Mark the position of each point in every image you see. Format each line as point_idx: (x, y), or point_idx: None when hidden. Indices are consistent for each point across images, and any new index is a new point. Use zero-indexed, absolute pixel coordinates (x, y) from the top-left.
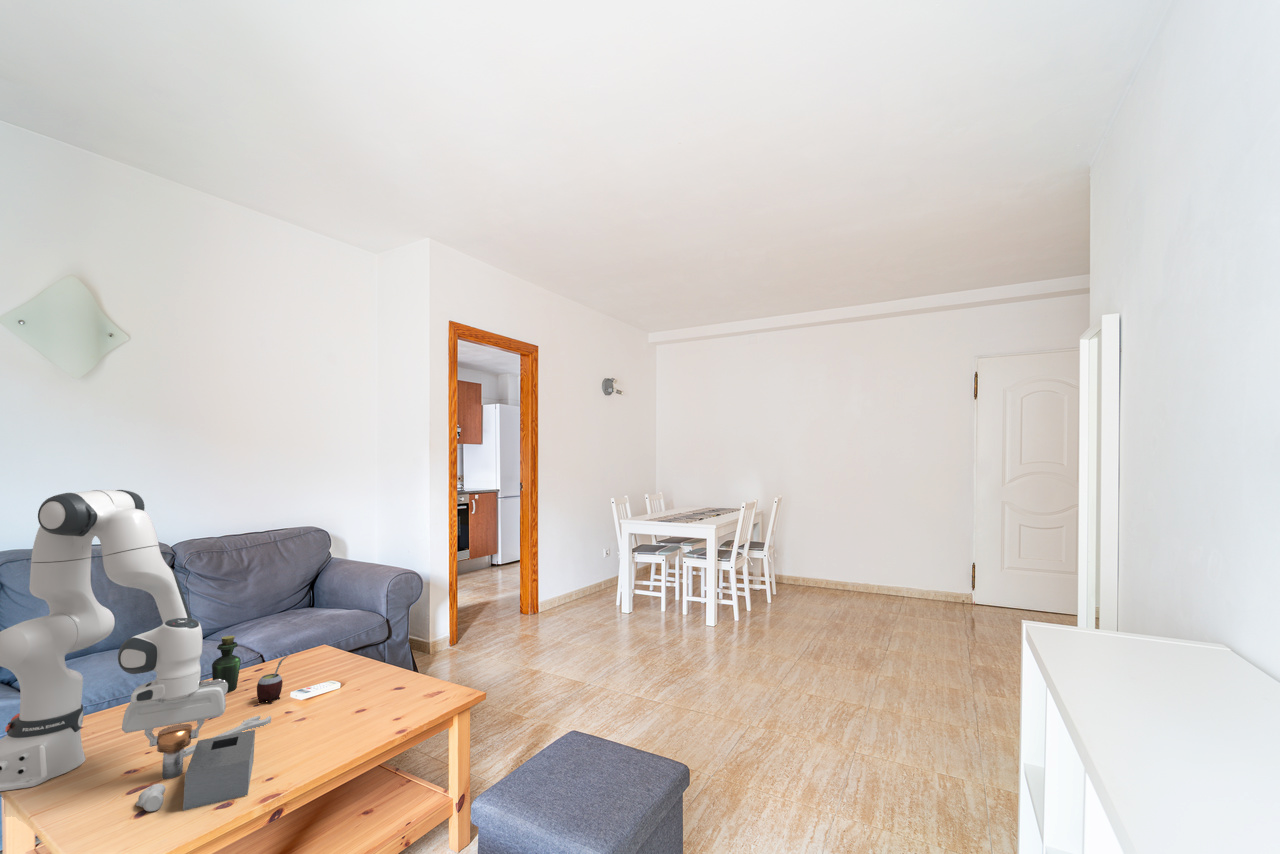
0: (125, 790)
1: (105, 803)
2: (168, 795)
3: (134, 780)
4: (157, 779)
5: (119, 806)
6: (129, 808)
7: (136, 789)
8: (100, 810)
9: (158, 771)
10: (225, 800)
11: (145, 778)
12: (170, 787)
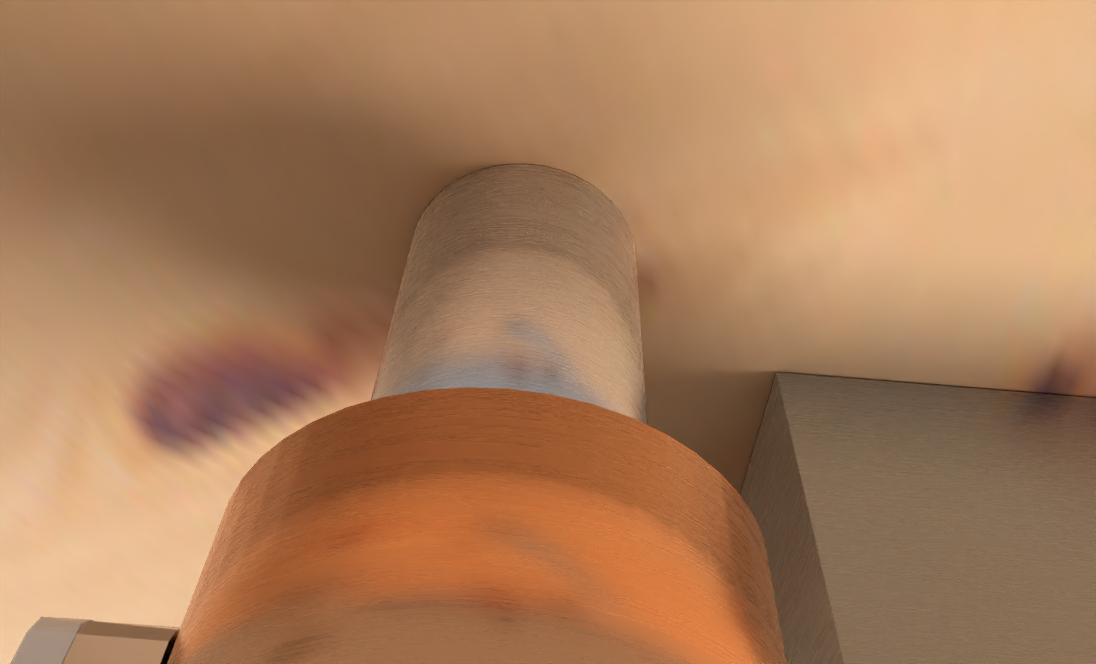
0: (93, 356)
1: (23, 503)
2: None
3: (80, 151)
4: (371, 283)
5: (182, 597)
6: None
7: (209, 393)
8: (47, 584)
9: (321, 36)
10: None
11: (209, 172)
12: None
